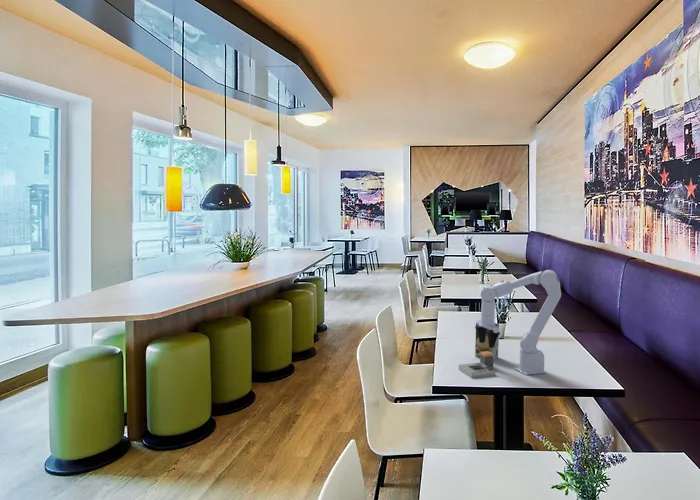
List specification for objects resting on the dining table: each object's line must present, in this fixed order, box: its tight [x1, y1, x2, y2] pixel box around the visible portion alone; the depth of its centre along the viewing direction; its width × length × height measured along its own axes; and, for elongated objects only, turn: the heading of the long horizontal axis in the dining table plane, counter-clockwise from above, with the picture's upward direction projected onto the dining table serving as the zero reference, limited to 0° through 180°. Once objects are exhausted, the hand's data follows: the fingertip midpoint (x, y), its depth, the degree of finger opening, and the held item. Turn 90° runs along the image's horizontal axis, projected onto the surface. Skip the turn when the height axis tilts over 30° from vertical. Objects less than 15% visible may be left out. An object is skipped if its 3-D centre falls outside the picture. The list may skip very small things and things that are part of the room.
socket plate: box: [458, 362, 496, 379], centre depth 203 cm, size 11×11×2 cm
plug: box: [479, 351, 494, 368], centre depth 211 cm, size 4×4×6 cm
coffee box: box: [474, 322, 500, 361], centre depth 223 cm, size 9×6×16 cm
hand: (486, 344), depth 210 cm, fingers open, 7 cm apart
